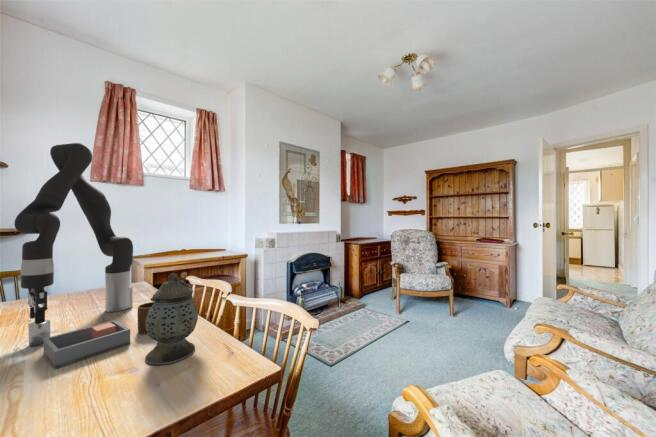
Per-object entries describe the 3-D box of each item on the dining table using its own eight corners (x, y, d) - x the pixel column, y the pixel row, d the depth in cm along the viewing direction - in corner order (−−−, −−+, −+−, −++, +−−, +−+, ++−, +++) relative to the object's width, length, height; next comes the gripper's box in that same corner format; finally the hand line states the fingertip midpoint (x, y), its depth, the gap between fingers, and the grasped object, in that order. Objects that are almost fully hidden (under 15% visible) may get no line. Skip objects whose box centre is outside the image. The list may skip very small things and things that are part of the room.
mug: (172, 330, 100) (172, 305, 100) (150, 338, 94) (150, 311, 94) (155, 324, 107) (155, 300, 106) (133, 331, 100) (133, 306, 100)
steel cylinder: (48, 338, 94) (48, 318, 94) (52, 342, 91) (51, 321, 91) (27, 344, 90) (27, 323, 90) (30, 348, 87) (30, 327, 87)
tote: (114, 333, 98) (114, 320, 98) (130, 344, 90) (130, 329, 90) (43, 354, 83) (43, 338, 83) (54, 369, 75) (54, 351, 75)
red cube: (110, 336, 93) (110, 322, 93) (116, 340, 90) (115, 325, 90) (91, 342, 89) (91, 327, 89) (97, 346, 86) (96, 330, 86)
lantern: (151, 347, 88) (151, 270, 88) (199, 339, 93) (199, 267, 93) (138, 370, 75) (137, 280, 75) (195, 360, 80) (194, 276, 80)
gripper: (58, 272, 89) (57, 321, 89) (48, 268, 98) (48, 313, 97) (24, 276, 83) (24, 329, 83) (17, 271, 91) (17, 319, 91)
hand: (37, 320), depth 90 cm, fingers open, 8 cm apart
